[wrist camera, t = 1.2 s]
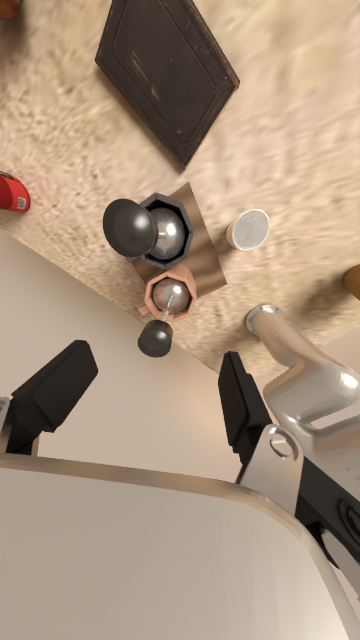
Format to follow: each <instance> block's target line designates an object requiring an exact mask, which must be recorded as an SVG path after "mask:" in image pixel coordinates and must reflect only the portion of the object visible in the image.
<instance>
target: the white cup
mask: <svg viewBox="0 0 360 640" xmlns="http://www.w3.org/2000/svg"><path fill="white" fill-rule="evenodd" d="M269 228H270V223H269V218H268V216H267V215H266V213H265V212H263V211H262V210H259V209H251V210H248V211H246V212H244V213H243V214H242V215H240V216H239V217H237V218H236V219H235V220H234V221H232V222H231V223H230V225H229V226H228V227H227V231H226V240H227V242H228V243H229V244H230V245H232V246H233V247H235V248H237V249H240V250H243V251H250V250H253V249H255V248H257V247H259V246H260V245H261V244H262V243H263V242H264V240H265V239H266V237H267V235H268V232H269Z"/></svg>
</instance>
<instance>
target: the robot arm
mask: <svg viewBox="0 0 360 640" xmlns="http://www.w3.org/2000/svg"><path fill="white" fill-rule="evenodd" d="M246 327H247V328H248V330H249V331H250V332H251V333H253V334H257V335H258V337H259V338H260V340H261V341H262V343H263V344H264V345H265V347H266V348H267V350H268V351H269V353H270V354H271V355H272V357H273V358H274V359H275V360H276V361H277V362H278V363H280V364H282V365H284V366H286V367H289V369H288V370H287V371H286V372H284V373H283V374H281V375H280V376H278V377H277V378H275V379H273V380H272V381H271V382H269V383H268V384H266V385H265V387H264V388H263V396H264V399H265V401H266V403H267V405H268V407H269V408H270V410H271V412H272V413H273V415H274V416H275V418H276V419H277V421H278V423H279V424H280V426H279V425H276V424H273V423H272V420H271V418H270V416H269V414H268V411H267V409H266V407H265V404H264V402H263V400H262V397H261V395H260V393H259V391H258V389H257V386H256V384H255V381H254V379H253V377H252V375H251V374H248V373H246V371H245V369H244V366H243V364H242V361H241V359H240V356H239V354H238V352H233V351H228V352H227V353H225V354H224V358H223V362H222V366H221V371H220V375H219V379H218V386H219V393H220V398H221V404H222V409H223V415H224V421H225V427H226V432H227V438H228V443H229V446H232V448H233V452H234V453H239V457H240V461H241V463H242V467H241V469H240V472H239V474H238V476H237V478H236V481H235V483H231V482H226V481H222V480H216V479H210V478H203V477H197V476H190V475H183V474H176V473H168V472H160V471H152V470H144V469H137V468H129V467H121V466H113V465H105V464H97V463H88V462H79V461H71V460H64V459H55V458H46V457H38V456H37V453H38V444H39V435H40V433H41V432H42V431H44V432H51V433H54V431H55V430H56V428H57V427H59V426H60V425H61V424H62V423H63V422H64V420H65V419H66V418H67V416H68V414H69V413H70V412H71V410H72V409H73V408H74V406H75V405H76V404H77V402H78V401H79V399H80V398H81V396H82V395H83V394H84V392H85V391H86V390H87V388H88V387H89V385H90V384H91V382H92V381H93V380H94V378H95V377H96V376H97V374H98V368H97V365H96V362H95V360H94V357H93V354H92V351H91V349H90V346H89V344H88V343H87V341H84V340H75V341H74V342H73V343H71V344H70V345H69V346H68V347H66V348H65V349H64V350H63V351H62V352H61V353H59V354H58V355H57V356H56V357H55V358H53V359H52V360H51V361H50V362H49V363H47V364H46V365H45V366H44V367H43V368H41V369H40V370H39V371H38V372H37V373H36V374H34V375H33V376H32V377H31V378H30V379H28V380H27V381H26V382H25V383H24V384H23V385H21V386H20V387H19V388H18V389H17V390H15V391H14V392H13V393H12V394H11V395H12V396H13V397H14V398H12V399H11V400H9V398H7V397H0V640H360V623H359V621H358V619H357V616H356V614H355V612H354V610H353V608H352V606H351V604H350V602H349V600H348V598H347V596H346V594H345V592H344V590H343V588H342V586H341V584H340V582H339V580H338V578H337V576H336V574H335V572H334V570H333V568H332V567H331V565H330V563H329V561H330V562H331V563H332V564H333V565H334V566H335V567H336V568H338V569H340V570H341V571H342V573H343V574H344V575H345V577H346V578H347V580H348V581H349V583H350V584H351V586H352V587H353V588H354V590H355V591H356V593H357V594H358V596H359V597H358V600H359V602H360V415H357V416H354V417H351V418H348V419H346V420H343V421H340V422H338V423H335V424H333V425H330V426H327V427H325V428H323V429H316V428H315V427H314V426H312V424H311V423H310V422H312V421H314V420H317V419H319V418H321V417H324V416H326V415H330V414H332V413H334V412H337V411H339V410H341V409H344V408H346V407H348V406H350V405H352V404H354V403H356V402H357V401H358V400H360V376H359V375H358V374H357V373H356V372H355V371H353V370H352V369H351V368H350V367H348V366H347V365H345V364H343V363H342V362H340V361H339V360H337V359H336V358H334V357H332V356H331V355H329V354H327V353H326V352H325V351H323V350H322V349H320V348H319V347H318V346H316V345H315V344H314V343H313V342H311V341H310V340H309V339H308V338H306V337H305V336H304V335H303V334H302V333H301V332H299V331H298V330H297V329H296V328H295V327H294V326H292V325H291V324H290V323H289V322H288V321H286V320H285V319H284V318H283V312H282V310H281V309H280V308H279V307H277V306H276V305H273V304H263V305H260V306H257V307H255V308H254V309H253V310H251V311H250V312H249V314H248V315H247V317H246ZM328 560H329V561H328Z"/></svg>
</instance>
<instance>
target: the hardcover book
mask: <svg viewBox="0 0 360 640" xmlns="http://www.w3.org/2000/svg"><path fill="white" fill-rule="evenodd" d="M95 62H96V63H97V65H98V66H99V67H100V68H101V70H102V71H103V72H104V73H105V74H106V76H107V77H108V78H109V79H110V80H111V82H112V83H113V84H114V85H115V86H116V88H117V89H118V90H119V91H120V92H121V94H122V95H123V96H124V97H125V99H126V100H127V101H128V102H129V103H130V105H131V106H132V107H133V108H134V109H135V111H136V112H137V113H138V114H139V115H140V117H141V118H142V119H143V120H144V121H145V123H146V124H147V125H148V126H149V128H150V129H151V130H152V131H153V132H154V134H155V135H156V136H157V137H158V138H159V140H160V141H161V142H162V143H163V144H164V146H165V147H166V148H167V149H168V150H169V152H170V153H171V154H172V155H173V156H174V158H175V159H176V160H177V161H178V163H179V164H180V165H181V166H182V167H183V169H184V170H185V169H186V168H187V166H188V164H189V163H190V161H191V160H192V158H193V156H194V155H195V153H196V152H197V150H198V148H199V147H200V145H201V144H202V142H203V141H204V139H205V137H206V136H207V134H208V133H209V131H210V129H211V128H212V126H213V125H214V123H215V122H216V120H217V118H218V117H219V115H220V114H221V112H222V110H223V109H224V107H225V106H226V104H227V103H228V101H229V99H230V98H231V96H232V95H233V93H234V91H235V90H236V88H237V89H238V87H239V84H240V80H239V78H238V77H237V75H236V73H235V72H234V70H233V68H232V66H231V65H230V63H229V61H228V60H227V58H226V56H225V55H224V53H223V51H222V50H221V48H220V46H219V44H218V43H217V41H216V39H215V38H214V36H213V34H212V33H211V31H210V29H209V28H208V26H207V24H206V22H205V21H204V19H203V17H202V16H201V14H200V12H199V11H198V9H197V7H196V6H195V4H194V2H193V1H192V0H112V4H111V7H110V10H109V14H108V17H107V21H106V24H105V27H104V31H103V34H102V37H101V41H100V44H99V48H98V51H97V54H96V58H95Z"/></svg>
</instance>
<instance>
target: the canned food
mask: <svg viewBox="0 0 360 640" xmlns="http://www.w3.org/2000/svg"><path fill="white" fill-rule="evenodd" d="M29 207H30V197H29V194H28V192H27V190H26V188H25V187H24V185H23V184H22V183H21V182H20V181H19V180H18V179H16V178H15V177H13V176H12V175H10V174H7V173H4V172H1V171H0V209H5V210H12V211H18V212H24V211H27V210H28V209H29Z"/></svg>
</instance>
